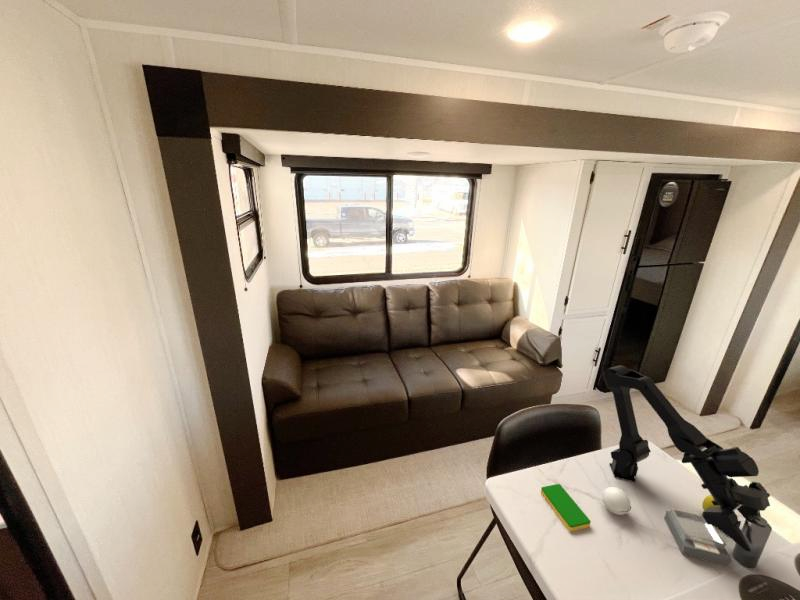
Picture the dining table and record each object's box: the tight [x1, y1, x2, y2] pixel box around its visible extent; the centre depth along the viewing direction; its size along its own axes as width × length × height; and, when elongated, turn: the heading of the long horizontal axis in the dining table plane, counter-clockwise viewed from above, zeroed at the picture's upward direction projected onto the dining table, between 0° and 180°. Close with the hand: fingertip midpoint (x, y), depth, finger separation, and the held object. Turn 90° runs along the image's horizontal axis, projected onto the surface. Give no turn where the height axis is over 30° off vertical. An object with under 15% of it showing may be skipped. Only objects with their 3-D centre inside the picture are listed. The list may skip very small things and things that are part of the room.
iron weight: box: [731, 515, 773, 570], centre depth 83 cm, size 4×4×14 cm
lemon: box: [701, 494, 720, 511], centre depth 95 cm, size 6×6×8 cm
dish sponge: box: [540, 483, 591, 532], centre depth 99 cm, size 7×14×2 cm, turn 12°
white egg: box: [601, 486, 632, 516], centre depth 98 cm, size 10×7×7 cm
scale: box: [663, 507, 733, 568], centre depth 89 cm, size 10×11×5 cm
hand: (757, 543), depth 82 cm, fingers open, 9 cm apart
